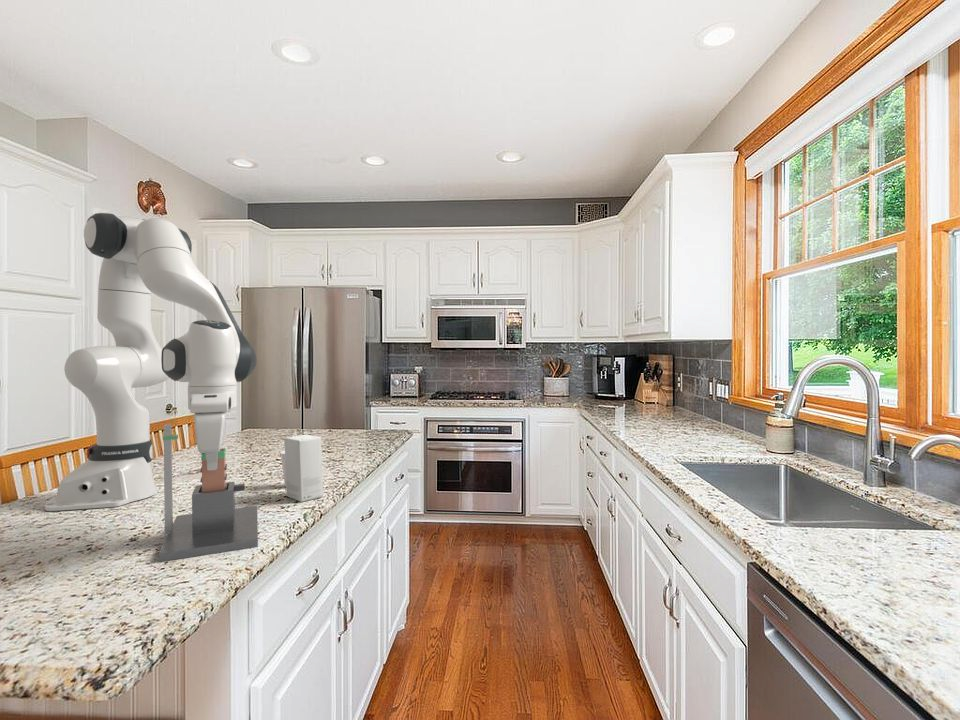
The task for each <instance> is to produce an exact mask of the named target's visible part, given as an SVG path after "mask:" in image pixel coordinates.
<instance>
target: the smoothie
mask: <svg viewBox="0 0 960 720" xmlns="http://www.w3.org/2000/svg"><path fill="white" fill-rule="evenodd" d="M294 436H295V435H291V437H294ZM279 457H280V460H281V467H282V473H283V481H284V487H285V488H286V466H285V450H282V451H280V452H279Z"/></svg>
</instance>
